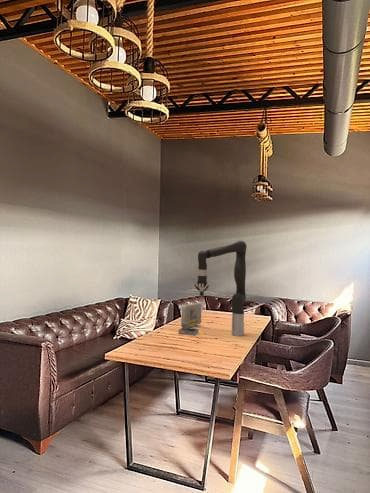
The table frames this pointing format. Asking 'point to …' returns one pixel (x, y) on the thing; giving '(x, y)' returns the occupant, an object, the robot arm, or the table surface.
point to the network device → (191, 314)
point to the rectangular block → (185, 325)
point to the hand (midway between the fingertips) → (201, 296)
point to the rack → (189, 331)
